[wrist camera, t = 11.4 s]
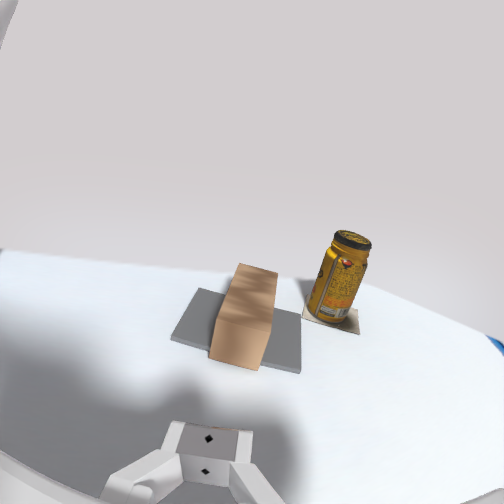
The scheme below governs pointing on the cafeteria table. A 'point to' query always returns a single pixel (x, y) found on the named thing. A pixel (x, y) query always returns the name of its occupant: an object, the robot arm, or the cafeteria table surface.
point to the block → (245, 318)
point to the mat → (203, 324)
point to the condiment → (339, 282)
